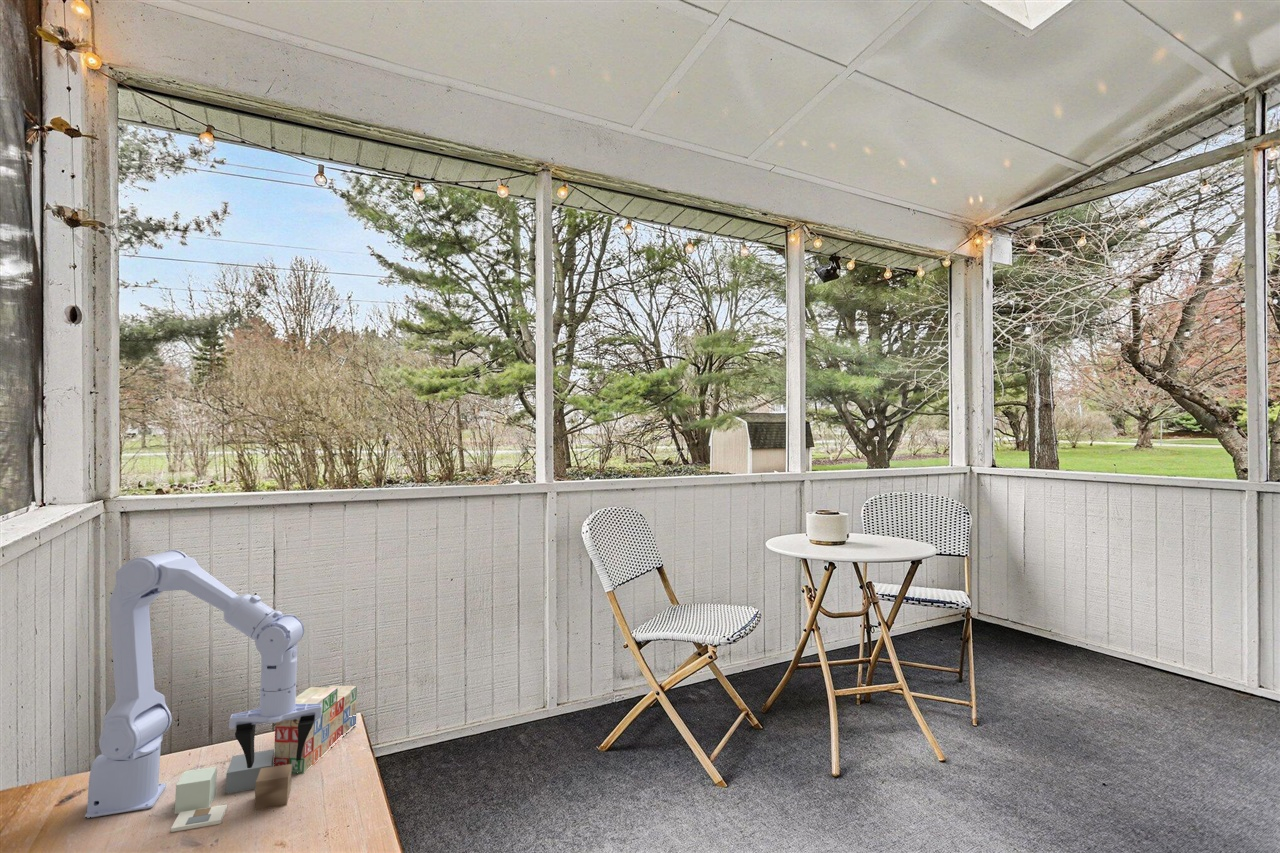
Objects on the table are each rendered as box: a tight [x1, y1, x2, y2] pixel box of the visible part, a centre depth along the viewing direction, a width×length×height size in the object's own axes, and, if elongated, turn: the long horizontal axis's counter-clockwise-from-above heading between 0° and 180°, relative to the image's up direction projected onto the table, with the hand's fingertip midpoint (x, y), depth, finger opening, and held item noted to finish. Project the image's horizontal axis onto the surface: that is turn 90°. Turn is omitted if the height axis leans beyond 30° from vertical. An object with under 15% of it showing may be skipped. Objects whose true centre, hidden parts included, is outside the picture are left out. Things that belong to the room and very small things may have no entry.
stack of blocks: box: [273, 684, 358, 774], centre depth 133 cm, size 21×6×12 cm, turn 179°
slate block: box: [225, 748, 275, 795], centre depth 119 cm, size 7×7×4 cm
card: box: [170, 803, 228, 833], centre depth 106 cm, size 7×5×1 cm
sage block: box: [174, 765, 218, 815], centre depth 111 cm, size 5×5×5 cm
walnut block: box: [253, 764, 292, 811], centre depth 112 cm, size 5×5×5 cm
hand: (275, 761), depth 113 cm, fingers open, 7 cm apart
